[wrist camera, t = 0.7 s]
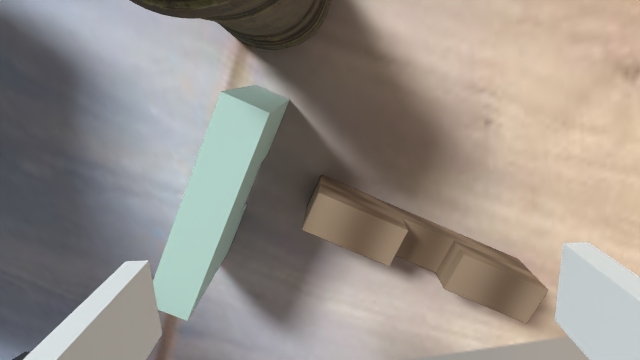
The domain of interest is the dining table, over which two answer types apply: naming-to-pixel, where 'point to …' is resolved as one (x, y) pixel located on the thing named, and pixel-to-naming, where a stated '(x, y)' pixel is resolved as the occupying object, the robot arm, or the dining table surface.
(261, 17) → the container
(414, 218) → the slotted rail
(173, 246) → the plate
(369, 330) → the dining table surface
